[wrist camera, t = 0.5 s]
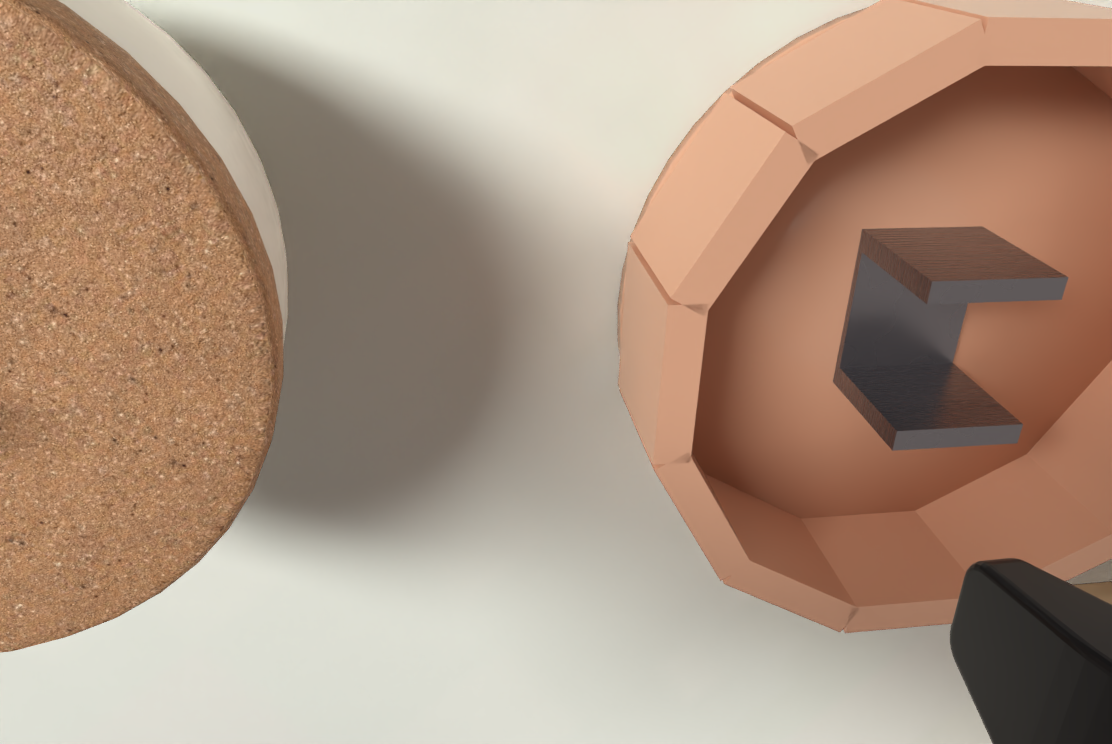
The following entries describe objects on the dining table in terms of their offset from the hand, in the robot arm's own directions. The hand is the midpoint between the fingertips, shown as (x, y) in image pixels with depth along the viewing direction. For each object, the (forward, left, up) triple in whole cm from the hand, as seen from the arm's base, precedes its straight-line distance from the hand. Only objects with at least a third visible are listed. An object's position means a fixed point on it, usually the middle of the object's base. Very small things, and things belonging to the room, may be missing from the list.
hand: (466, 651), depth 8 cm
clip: (-3, -11, -14) cm, 18 cm away
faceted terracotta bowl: (-3, -11, -14) cm, 18 cm away
